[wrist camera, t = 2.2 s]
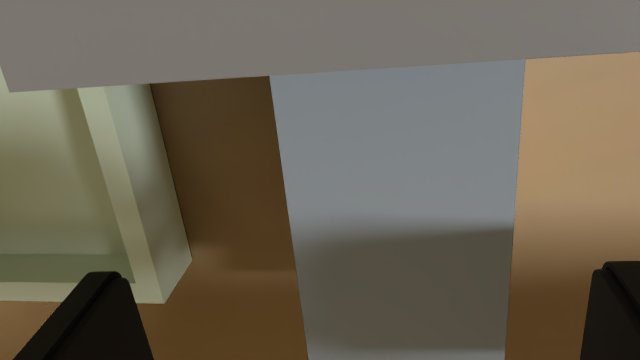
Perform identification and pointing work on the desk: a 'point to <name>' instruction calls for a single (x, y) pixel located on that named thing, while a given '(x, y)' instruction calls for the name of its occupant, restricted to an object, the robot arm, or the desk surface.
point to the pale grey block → (402, 207)
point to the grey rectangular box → (290, 37)
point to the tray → (86, 193)
